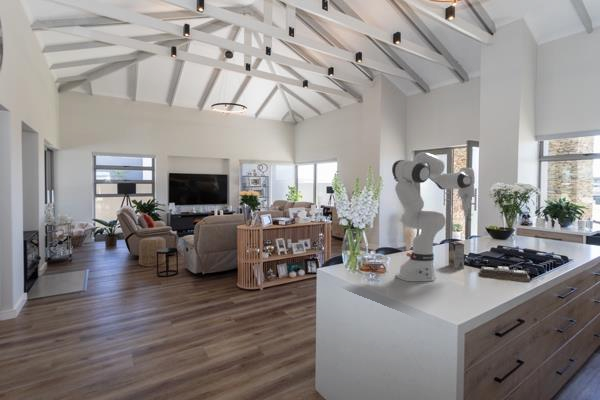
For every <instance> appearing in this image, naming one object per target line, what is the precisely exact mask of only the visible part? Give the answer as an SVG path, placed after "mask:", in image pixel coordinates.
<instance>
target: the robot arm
mask: <svg viewBox="0 0 600 400" xmlns="http://www.w3.org/2000/svg"><path fill="white" fill-rule="evenodd" d="M444 170H445V163H444V160H442V159H441V158H439V157H437V156H436V155H434V154H431V153H429V152H425V151H421V152H418V153H417V154H416V155H415V156H414V159H413V160H408V159H407V160H404V159H399V160H396V161H395V162H394V163H393V164H392V167H391V173H392V175H393V177H394V178H393V179H394V180H395V182H397V183H396V184H395V187H394V191H395V194H396V196H397V198H398V200H399V203H400V204H401V205H402V208H403V210H404V211H405V212H403V214H402V216H401V223H402V225H403V226H404V227H406V228H409V229H414V230H420V233H419V235H417V236H415V237H413V239H412V252H411V253H409V252H407V253H406V255H405V256H407V257H409V259H408V260H407V261H405V262H404V263H402V265H401V266H400V268H399V272H398V273H397V272H396V273H395V277H396V278H398V279H400V280H402V281H405V282H433V281H435V279H436V278H437V277H436V274H435V270H434V269H435V268H434V256H435V255H434V240H435V238H436V236H437V234H438V233H439V232H440V231H441V230H443V229H444V228H445V226H446V222H447V220H446V217H445V215H444V214H443V213H440V212H437V211H435V210H434V211H432V210H430V211H429V210H423V209H424V206H425V201H424V199H423V197H422V196H421V194H420V191H418V188H417V187H416V184H421V183H422V184H423V183H425V182H426V181H427V180H428V179H429V180H430V181H432V182H433V183H434V184H435V185H436V186H437V187H438V188H439V189H440V190H443V191H444V190H458V191H457V193H458V195H457V197H458V198H459V199H460V200H461V210H463V215H464V217H469V214H468V213H469V210H470V208H471V203H472V200H473V198H475V181H476V180H475V178H476V177H475V171H474V169H473V168H471V167H461V168H459V171H457V172H452V173H451V172H450V173H444V172H445V171H444Z"/></svg>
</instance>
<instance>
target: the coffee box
mask: <svg viewBox="0 0 600 400" xmlns="http://www.w3.org/2000/svg"><path fill="white" fill-rule="evenodd" d="M448 266H449V267H451V268H453V269H465V244H464V243H462V242H459V241H448Z"/></svg>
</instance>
